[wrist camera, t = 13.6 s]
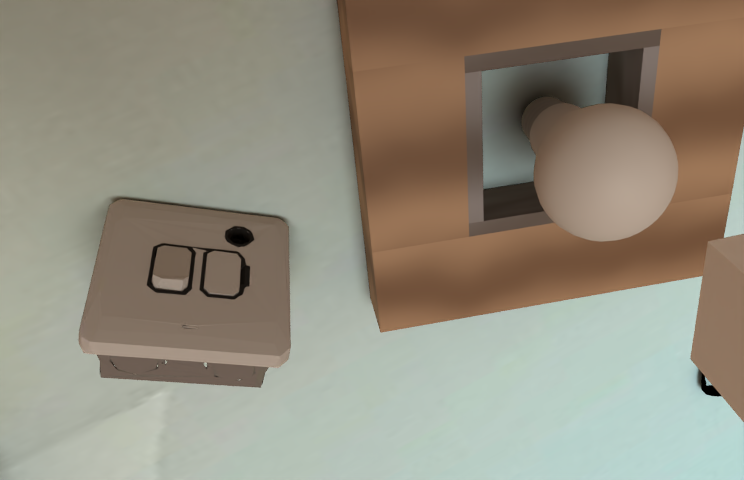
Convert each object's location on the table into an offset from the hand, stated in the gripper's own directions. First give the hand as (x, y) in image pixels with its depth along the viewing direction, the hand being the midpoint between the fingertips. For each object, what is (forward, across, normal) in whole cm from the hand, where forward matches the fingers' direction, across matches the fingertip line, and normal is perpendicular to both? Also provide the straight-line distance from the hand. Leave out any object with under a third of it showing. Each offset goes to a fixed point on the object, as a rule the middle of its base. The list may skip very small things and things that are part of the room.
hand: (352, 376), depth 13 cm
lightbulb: (+25, +13, -7) cm, 29 cm away
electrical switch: (+25, -6, -12) cm, 29 cm away
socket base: (+25, +13, -7) cm, 29 cm away
